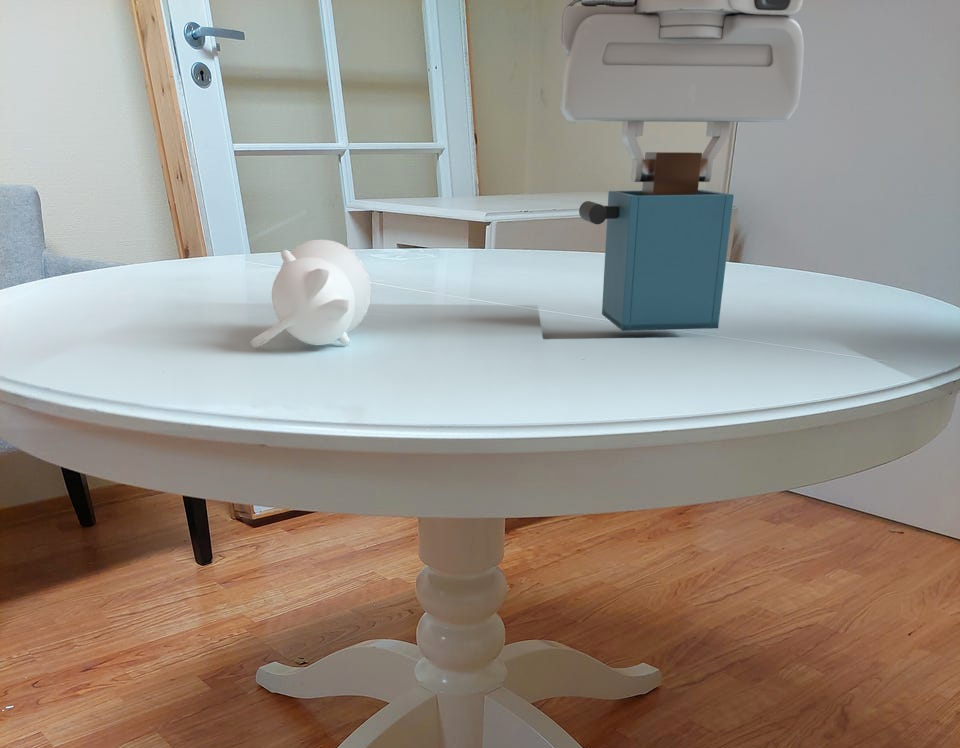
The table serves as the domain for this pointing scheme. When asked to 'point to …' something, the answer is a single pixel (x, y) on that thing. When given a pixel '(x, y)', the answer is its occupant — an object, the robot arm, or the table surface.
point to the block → (673, 173)
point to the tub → (663, 258)
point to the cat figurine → (319, 294)
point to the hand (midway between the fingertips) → (670, 181)
